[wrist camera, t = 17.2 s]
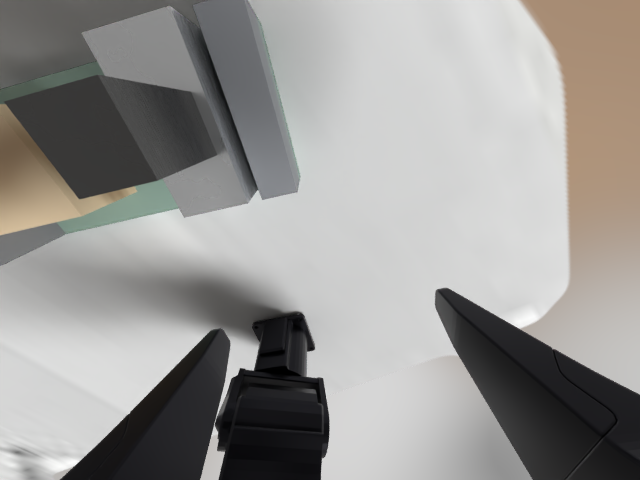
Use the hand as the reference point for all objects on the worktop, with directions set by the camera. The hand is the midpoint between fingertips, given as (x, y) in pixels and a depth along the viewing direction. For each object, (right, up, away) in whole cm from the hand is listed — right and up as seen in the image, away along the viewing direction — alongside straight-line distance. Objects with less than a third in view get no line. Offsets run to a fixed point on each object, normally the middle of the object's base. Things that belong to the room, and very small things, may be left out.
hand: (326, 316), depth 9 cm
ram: (-8, +11, +6) cm, 15 cm away
